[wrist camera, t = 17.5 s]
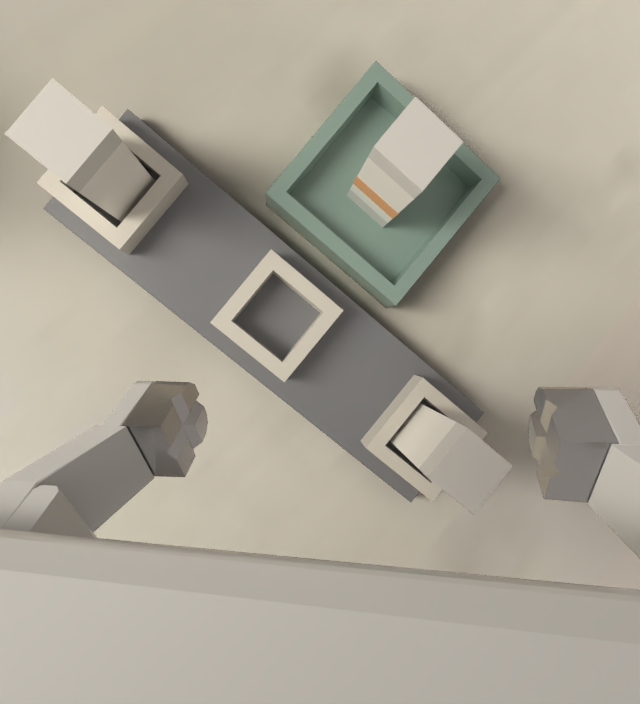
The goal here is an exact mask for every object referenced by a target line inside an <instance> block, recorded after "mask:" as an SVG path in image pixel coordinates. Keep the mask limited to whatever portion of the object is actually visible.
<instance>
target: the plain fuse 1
mask: <svg viewBox="0 0 640 704" xmlns="http://www.w3.org/2000/svg"><path fill="white" fill-rule="evenodd" d="M5 135H7V136H8V137H9V138H10V139H12V140H13V141H14V142H15V143H16V144H18V145H19V146H20V147H21V148H23V149H24V150H25V151H26V152H28V153H29V154H30V155H31V156H32V157H34V158H35V159H36V160H37V161H39V162H40V163H41V164H42V165H44V166H45V167H46V168H47V169H48V170H50V171H51V172H52V173H53V174H55V175H56V176H57V177H58V178H60V179H61V180H62V181H63V182H64V183H66V184H67V185H69V186H70V187H71V188H73V189H74V190H76V191H77V192H79V193H80V194H82V195H83V196H84V197H86V198H87V199H89V200H90V201H92V202H93V203H95V204H96V205H97V206H99V207H100V208H102V209H103V210H105V211H106V212H108V213H109V214H110V215H112V216H113V217H115V218H116V219H118V220H119V221H121V222H122V221H123V220H124V219H125V218H126V216H127V215H128V214H129V213H130V212H131V211H132V209H133V208H134V207H135V206H136V205H137V203H138V202H139V201H140V200H141V199H142V198H143V196H144V195H145V194H146V193H147V192H148V190H149V189H150V188H151V187H152V186H153V184H154V183H155V180H154V179H153V178H152V177H151V176H150V174H149V173H148V172H147V171H146V169H145V168H144V167H143V166H142V164H141V163H140V162H139V161H138V159H137V158H136V157H135V156H134V155H133V153H132V152H131V151H130V150H129V148H128V147H127V146H126V145H125V143H124V142H123V141H122V140H121V139H120V137H119V136H118V135H117V134H116V132H115V131H114V130H113V129H112V128H111V127H110V126H109V125H108V124H106V123H105V122H104V121H103V120H102V119H100V118H99V117H98V116H97V115H96V114H95V113H93V112H92V111H91V110H90V109H89V108H87V107H86V106H85V105H84V104H83V103H81V102H80V101H79V100H78V99H77V98H76V97H74V96H73V95H72V94H71V93H70V92H68V91H67V90H66V89H65V88H64V87H62V86H61V85H60V84H59V83H58V82H57V81H55V80H54V79H53V78H52V79H51V80H50V81H49V82H48V84H47V85H46V86H45V87H44V88H43V89H42V91H41V92H40V93H39V94H38V95H37V97H36V98H35V99H34V100H33V101H32V102H31V104H30V105H29V106H28V107H27V108H26V109H25V111H24V112H23V113H22V114H21V115H20V116H19V118H18V119H17V120H16V121H15V122H14V123H13V125H12V126H11V127H10V128H9V129H8V130H7V132H6V133H5Z"/></svg>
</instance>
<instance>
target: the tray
mask: <svg viewBox="0 0 640 704" xmlns="http://www.w3.org/2000/svg"><path fill="white" fill-rule="evenodd" d="M413 99H414V96H413V95H412V94H411V93H410V92H409V91H408V90H407V89H405V88H404V87H403V86H402V85H401V84H400V83H399V82H398V81H397V80H396V79H395V78H394V77H393V76H392V75H391V74H390V73H389V72H387V71H386V70H385V69H384V68H383V67H382V66H381V65H380V64H379V63H378V62H377V61H375V63H374V64H373V65H372V66H371V67H370V69H369V70H368V71H367V72H366V73H365V75H364V76H363V77H362V78H361V79H360V81H359V82H358V83H357V84H356V85H355V87H354V88H353V89H352V90H351V91H350V92H349V94H348V95H347V96H346V97H345V98H344V100H343V101H342V102H341V103H340V104H339V106H338V107H337V108H336V109H335V110H334V112H333V113H332V114H331V115H330V116H329V118H328V119H327V120H326V121H325V122H324V124H323V125H322V126H321V127H320V128H319V130H318V131H317V132H316V133H315V134H314V136H313V137H312V138H311V139H310V140H309V142H308V143H307V144H306V145H305V146H304V148H303V149H302V150H301V151H300V152H299V154H298V155H297V156H296V157H295V158H294V160H293V161H292V162H291V163H290V164H289V166H288V167H287V168H286V169H285V170H284V172H283V173H282V174H281V175H280V176H279V178H278V179H277V180H276V181H275V182H274V184H273V185H272V186H271V187H270V188H269V190H268V191H267V192H266V205H267V206H268V207H269V208H271V209H272V210H273V211H274V212H275V213H276V214H277V215H279V216H280V217H281V218H282V219H283V220H284V221H286V222H287V223H288V224H289V225H290V226H291V227H293V228H294V229H295V230H296V231H297V232H298V233H300V234H301V235H302V236H303V237H304V238H305V239H307V240H308V241H309V242H310V243H311V244H312V245H314V246H315V247H316V248H317V249H318V250H319V251H320V252H322V253H323V254H324V255H325V256H326V257H327V258H329V259H330V260H331V261H332V262H333V263H334V264H336V265H337V266H338V267H339V268H340V269H341V270H343V271H344V272H345V273H346V274H347V275H348V276H350V277H351V278H352V279H353V280H354V281H355V282H357V283H358V284H359V285H360V286H361V287H362V288H363V289H365V290H366V291H367V292H368V293H369V294H370V295H372V296H373V297H374V298H375V299H376V300H377V301H379V302H380V303H381V304H382V305H383V306H384V307H391V306H396V305H397V304H398V303H399V301H400V300H401V299H402V298H403V296H404V295H405V294H406V293H407V292H408V290H409V289H410V288H411V287H412V285H413V284H414V283H415V282H416V281H417V279H418V278H419V277H420V276H421V274H422V273H423V272H424V271H425V270H426V268H427V267H428V266H429V265H430V263H431V262H432V261H433V260H434V259H435V257H436V256H437V255H438V254H439V252H440V251H441V250H442V249H443V248H444V246H445V245H446V244H447V243H448V241H449V240H450V239H451V238H452V237H453V235H454V234H455V233H456V232H457V230H458V229H459V228H460V227H461V226H462V224H463V223H464V222H465V221H466V220H467V218H468V217H469V216H470V215H471V213H472V212H473V211H474V210H475V209H476V207H477V206H478V205H479V204H480V202H481V201H482V200H483V199H484V198H485V196H486V195H487V194H488V193H489V191H490V190H491V189H492V188H493V187H494V185H495V184H496V183H497V182H498V180H499V179H500V177H499V176H498V175H497V174H496V173H495V172H493V171H492V170H491V169H490V168H489V167H488V166H487V165H486V164H485V163H484V162H483V161H482V160H481V159H480V158H479V157H478V156H476V155H475V154H474V153H473V152H472V151H471V150H470V149H469V148H468V147H467V146H466V145H465V144H464V143H462V144H461V145H460V147H459V148H458V149H457V150H456V151H455V153H454V154H453V155H452V156H451V158H450V159H449V160H448V161H447V162H446V164H445V165H444V166H443V167H442V168H441V170H440V171H439V172H438V173H437V174H436V176H435V177H434V178H433V179H432V181H431V182H430V183H429V184H428V185H427V187H426V188H425V189H424V190H423V191H422V192H421V193H420V194H419V195H418V196H417V197H416V198H415V199H414V200H412V201H411V202H410V203H409V204H408V205H407V206H406V207H405V208H404V209H403V210H402V211H400V212H399V214H398V215H397V216H395V217H394V218H393V219H392V220H391V221H389V222H388V223H387V224H386V225H385V226H384V227H381V226H380V225H379V224H378V223H377V222H376V221H375V220H374V219H372V218H371V217H370V216H369V215H368V214H367V213H366V212H365V211H363V210H362V209H361V208H360V207H359V206H358V205H357V204H356V203H354V202H353V201H352V200H351V199H350V198H349V197H348V196H347V194H348V192H349V190H350V188H351V187H352V185H353V182H354V180H355V179H356V177H357V175H358V174H359V172H360V170H361V168H362V167H363V165H364V163H365V161H366V159H367V158H368V156H369V154H370V152H371V150H372V149H373V147H374V146H375V144H376V143H377V142H378V141H379V139H380V138H381V137H382V136H383V135H384V133H385V132H386V131H387V130H388V129H389V127H390V126H391V125H392V124H393V123H394V121H395V120H396V119H397V118H398V117H399V115H400V114H401V113H402V112H403V111H404V109H405V108H406V107H407V106H408V105H409V103H410V102H411V101H412V100H413Z"/></svg>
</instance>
